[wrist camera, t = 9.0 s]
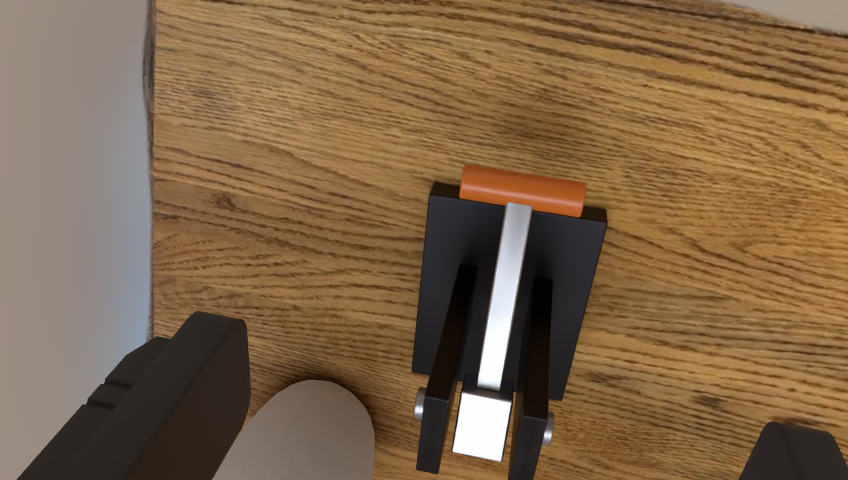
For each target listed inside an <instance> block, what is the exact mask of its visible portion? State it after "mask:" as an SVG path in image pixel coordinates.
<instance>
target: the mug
mask: <svg viewBox="0 0 848 480" xmlns="http://www.w3.org/2000/svg"><path fill="white" fill-rule="evenodd" d="M374 457H375V433H374V429H373V426H372V422H371V418H370V416H369V414H368V412H367V410H366V408H365V406H364V405H363V404H362V403H361V402H360V401H359V400H358V399H357V398H356V397H355V396H354V395H353V393H351V392H349V391H348V390H346V389H345V388H343V387H342V386H340V385H339V384H336V383H333V382H330V381H322V380H306V381H301V382H298V383H295V384H292V385H290V386H288V387H287V388H286V389H284V390H282V391H280V392H278V393H277V394H276V395H275V396H273V397H272V398H271V399H270V400H269V401H268V402H267V403H266V404H265V405H264V406H263V407H262V408H261V409H260V410H259V411H258V412H257V413H256V414H255V416H254V417H253V418H252V419H251V420H250V421H249V422H248V423H247V425H246V426H245V428H244V429H243V430H242V432H241V433H240V435H239V436H238V437H237V439H236V440H235V442H234V443H233V444H232V446H231V448H230V449H229V451H228V453H227V455H226V457H225V458H224V460H223V462H222V464H221V465H220V467H219V469H218V471H217V472H216V474H215V476H214V478H213V479H212V480H372V476H373V468H374Z"/></svg>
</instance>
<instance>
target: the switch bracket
mask: <svg viewBox="0 0 848 480" xmlns="http://www.w3.org/2000/svg"><path fill="white" fill-rule="evenodd" d="M459 194H460V187H459V186H453V185H447V184H440V183H434V184H433V187H432V189H431V192H430V194H429V202H428V212H427V222H426V232H425V242H424V252H423V262H422V272H421V282H420V292H419V302H418V312H417V322H416V332H415V342H414V352H413V362H412V372H413V373H418V374H423V375H428V376H430V377H429V381H428V384H427V388H423V387H419V389H418V392H417V396H416V400H415V406H414V413H413V418H414V419H417V420H422V421H421V429H420V438H419V447H418V456H417V464H416V470H419V471H424V472H429V473H434V474H438V473H439V468H440V463H441V459H442V454H443V449H444V444H445V440H446V435H447V430H448V425H449V421H450V416H451V411H452V406H453V402H454V397H455V392H456V387H457V383H458V381H459V382H464V377H465V374H466V373H471V374H476V375H477V374H478V368H479V362H480V356H481V350H482V344H483V338H484V332H485V326H486V320H487V314H488V308H489V302H490V296H491V290H492V284H493V279H494V273H495V267H496V261H497V255H498V249H499V243H500V237H501V231H502V225H503V219H504V213H505V207H506V206H504V205H497V204H491V203H485V202H479V201H473V200H466V199H461V198H460V196H459ZM607 224H608V223H607V213H606V210H604V209H598V208H591V207H585V206H583V210H582V213H581V216H580V217H572V216H566V215H560V214H553V213H547V212H541V211H535V210H532V216H531V221H530V227H529V233H528V239H527V244H526V250H525V256H524V261H523V267H522V273H521V279H520V284H519V290H518V296H517V301H516V307H515V313H514V319H513V324H512V330H511V336H510V341H509V347H508V353H507V359H506V364H505V370H504V376H503V380H508V381H512V382H513V392H516V400H515V410H514V421H513V431H512V441H511V451H510V461H509V472H508V480H533V479H534V475H535V471H536V466H537V462H538V458H539V454H540V450H541V446H542V445H547V446H549V445H550V444H551V440H552V436H553V429H554V413H551V412H548V404H549V399H553V400H558V401H562V399H563V395H564V391H565V387H566V384H567V380H568V376H569V372H570V368H571V364H572V360H573V356H574V352H575V349H576V345H577V341H578V337H579V333H580V329H581V325H582V321H583V317H584V314H585V310H586V306H587V302H588V298H589V294H590V290H591V286H592V282H593V279H594V275H595V271H596V267H597V263H598V259H599V255H600V251H601V247H602V244H603V240H604V236H605V232H606V228H607Z"/></svg>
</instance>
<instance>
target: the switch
mask: <svg viewBox="0 0 848 480" xmlns="http://www.w3.org/2000/svg"><path fill="white" fill-rule="evenodd" d="M585 194H586V183H583V182H577V181H570V180H564V179H557V178H551V177H544V176H538V175H531V174H525V173H518V172H512V171H505V170H499V169H493V168H486V167H480V166H473V165H467V164H466V165H465V166H464V169H463V173H462V179H461V185H460V194H459V196H460V198H461V199H466V200H473V201H479V202H485V203H491V204H497V205H504V206H506V207H505V213H504V219H503V225H502V231H501V237H500V243H499V249H498V255H497V261H496V267H495V273H494V279H493V284H492V290H491V296H490V302H489V308H488V314H487V320H486V326H485V332H484V338H483V344H482V350H481V356H480V362H479V368H478V374H477V375H476V374H471V373H466V374H465V377H464V382H463V386H462V390H461V395H460V401H459V407H458V413H457V419H456V425H455V432H454V438H453V444H452V452H454V453H459V454H464V455H468V456H473V457H478V458H483V459H488V460H493V461H498V462H502V460H503V455H504V450H505V444H506V438H507V433H508V427H509V422H510V416H511V410H512V405H513V382H512V381H508V380H503V376H504V370H505V364H506V359H507V353H508V347H509V341H510V336H511V330H512V324H513V319H514V313H515V307H516V301H517V296H518V290H519V284H520V279H521V273H522V267H523V261H524V256H525V250H526V244H527V239H528V233H529V227H530V221H531V216H532V210H535V211H541V212H547V213H553V214H560V215H566V216H572V217H580V216H581V213H582V210H583V205H584V200H585Z"/></svg>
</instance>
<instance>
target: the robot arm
mask: <svg viewBox="0 0 848 480" xmlns="http://www.w3.org/2000/svg"><path fill="white" fill-rule="evenodd" d="M250 396H251V385H250V369H249V353H248V337H247V327H246V324H245V322H244V320H242V319H238V318H233V317H227V316H222V315H217V314H212V313H206V312H201V311H197V312H194V313H193V314H192V315H191V316H190V317H189V318H188V319H187V320H186V321H185V323H184V324H183V325H182V326H181V327H180V329H179V330H178V331H177V332H176V334H175V335H174V336H173V337H172V338H171V339H168V338H163V337H158V336H157V337H155V338H154V339H152V340H150V341H149V342H147V343H145V344H144V345H142V346H140V347H139V348H137V349H135V350H134V351H132V352H130V353H129V354H127V355H126V356H125V357H124V358H123V359H122V361H121V362H120V363H119V364H118V365H117V366H116V367H115V369H114V370H113V371H112V372H111V373H110V374H109V375H108V377H107V378H106V379H105V383H104V384H100V386H99V387H98V388H97V389H96V390H95V391H94V392H93V393H92V395H91V396H90V397H89V398H88V401H87V404H86V405H84V404H83V405H82V406H81V407H80V408H79V409H78V410H77V412H76V413H75V414H74V415H73V416H72V417H71V418H70V420H69V421H68V422H67V423H66V424H65V425H64V426H63V428H62V429H61V430H60V431H59V432H58V433H57V434H56V435H55V437H54V438H53V439H52V440H51V441H50V442H49V443H48V445H47V446H46V447H45V448H44V449H43V450H42V451H41V453H40V454H39V455H38V456H37V457H36V458H35V459H34V460H33V462H32V463H31V464H30V465H29V466H28V467H27V468H26V470H25V471H24V472H23V473H22V474H21V475H20V476H19V477H18V479H17V480H212V479H213V478H214V476H215V474H216V472H217V471H218V469H219V467H220V465H221V464H222V462H223V460H224V458H225V457H226V455H227V453H228V451H229V449H230V448H231V446H232V444H233V442H234V441H235V439H236V437H237V435H238V434H239V432H240V430H241V428H242V426H243V424H244V421H245V419H246V415H247V412H248V408H249V403H250ZM739 480H848V467H847V465H846V462H845V460H844V458H843V456H842V454H841V451H840V449H839V447H838V445H837V443H836V441H835V439H834V437H833V436H832V435H831V434H830V433H829V432H826V431H822V430H816V429H811V428H806V427H801V426H795V425H790V424H785V423H779V422H769V423H768V424H767V425H766V426H765V427H764V428H763V430H762V432H761V434H760V436H759V438H758V440H757V443H756V445H755V447H754V449H753V451H752V453H751V455H750V457H749V459H748V461H747V463H746V466H745V468H744V470H743V472H742V474H741V476H740V478H739Z"/></svg>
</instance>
